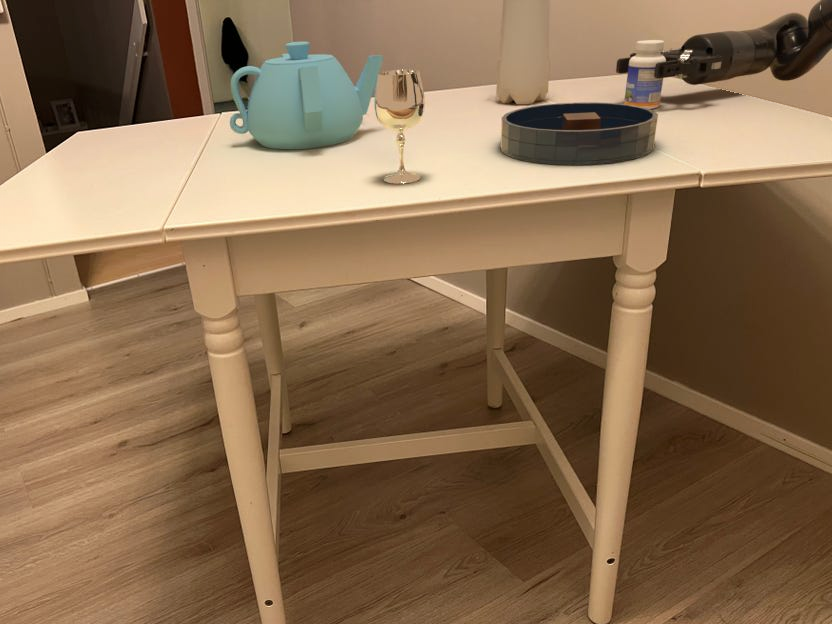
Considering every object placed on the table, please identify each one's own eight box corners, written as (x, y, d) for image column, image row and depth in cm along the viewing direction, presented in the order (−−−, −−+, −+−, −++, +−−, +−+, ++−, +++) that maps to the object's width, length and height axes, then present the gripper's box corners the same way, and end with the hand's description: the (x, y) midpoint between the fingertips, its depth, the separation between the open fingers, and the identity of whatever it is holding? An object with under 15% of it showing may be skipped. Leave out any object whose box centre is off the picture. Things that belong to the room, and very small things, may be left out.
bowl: (635, 128, 100) (638, 99, 98) (670, 161, 83) (675, 127, 82) (497, 134, 103) (498, 106, 101) (505, 167, 86) (506, 134, 84)
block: (592, 144, 92) (595, 112, 90) (597, 151, 88) (600, 118, 86) (560, 145, 92) (562, 113, 90) (564, 152, 89) (567, 119, 87)
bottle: (527, 107, 120) (538, -103, 106) (485, 103, 126) (489, -96, 112) (558, 98, 125) (572, -102, 111) (515, 95, 131) (523, -96, 117)
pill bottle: (621, 104, 116) (628, 40, 112) (656, 103, 115) (665, 38, 111) (625, 110, 112) (633, 43, 107) (662, 109, 111) (671, 41, 106)
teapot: (314, 156, 98) (305, 48, 92) (217, 147, 109) (202, 50, 102) (389, 129, 112) (385, 34, 105) (297, 123, 122) (288, 36, 116)
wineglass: (433, 180, 83) (431, 72, 78) (387, 187, 82) (382, 77, 76) (415, 170, 88) (413, 67, 82) (372, 176, 87) (366, 72, 81)
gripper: (685, 30, 119) (608, 40, 114) (758, 34, 107) (674, 45, 102) (678, 77, 123) (603, 89, 118) (748, 86, 111) (667, 99, 106)
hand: (636, 68), depth 110 cm, fingers open, 8 cm apart
